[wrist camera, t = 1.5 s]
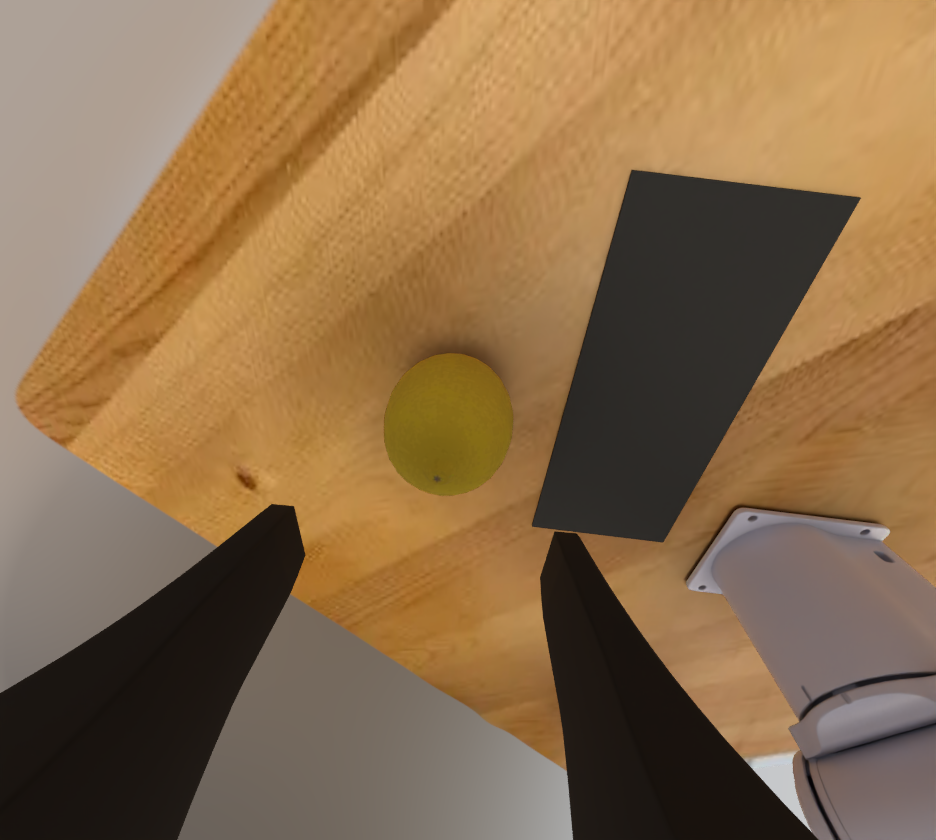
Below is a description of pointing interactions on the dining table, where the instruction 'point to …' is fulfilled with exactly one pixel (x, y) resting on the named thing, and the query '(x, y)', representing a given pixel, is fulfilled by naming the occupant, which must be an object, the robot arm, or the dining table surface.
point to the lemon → (448, 424)
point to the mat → (678, 343)
